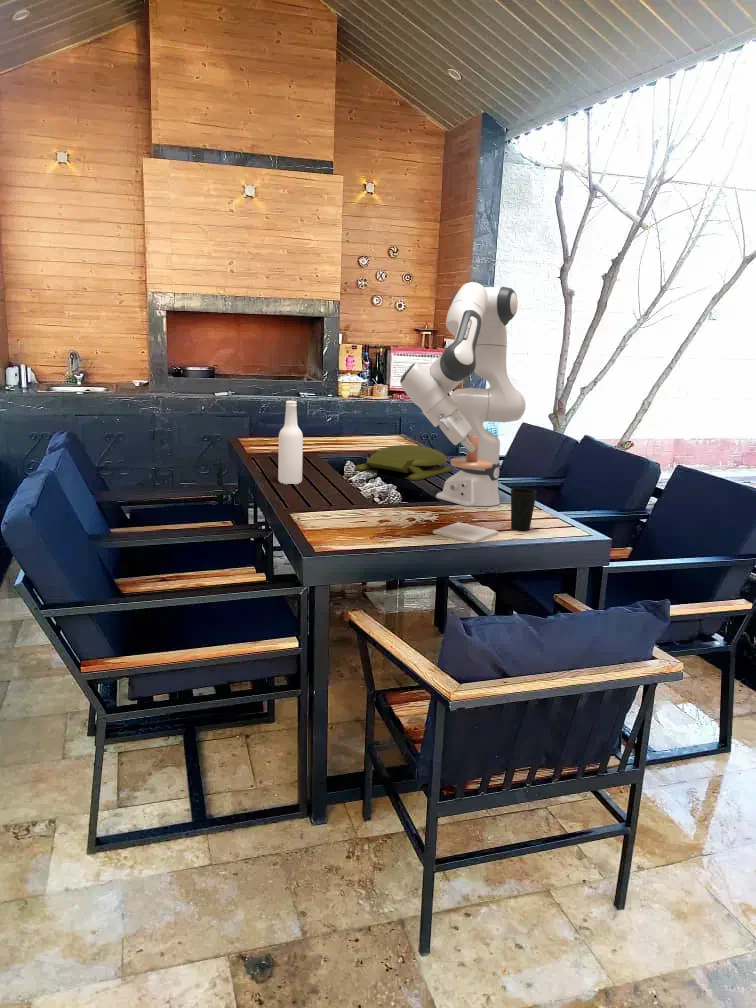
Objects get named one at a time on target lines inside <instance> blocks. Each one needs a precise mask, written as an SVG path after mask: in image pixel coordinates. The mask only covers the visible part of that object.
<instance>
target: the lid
mask: <svg viewBox="0 0 756 1008" xmlns="http://www.w3.org/2000/svg"><path fill="white" fill-rule="evenodd" d="M468 440H469V441H470V442H471V443H472V444H473V445H474V446H475V447H476V449H475V450H474V451H473V452H470V451H469V450H468V449H467V448H466V456H460V457H453V458H451V459H450V466H452V467H455V468H459V469H461V468H465V469H489V468H492V465H493V462H492V461H490V460H487V459H482V458H478V446H479V436H477V435H468Z"/></svg>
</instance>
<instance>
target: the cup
mask: <svg viewBox="0 0 756 1008" xmlns="http://www.w3.org/2000/svg"><path fill="white" fill-rule="evenodd" d="M536 498H537V490H535V489H532V488H527V487H513V488H511V489H510V528H511V530H513V531H516V530H517V531H518V532H528V531H530V529H531V524H532V523H531V522H532V518H533V514H534V508H535V503H536ZM517 531H516V532H517Z"/></svg>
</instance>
